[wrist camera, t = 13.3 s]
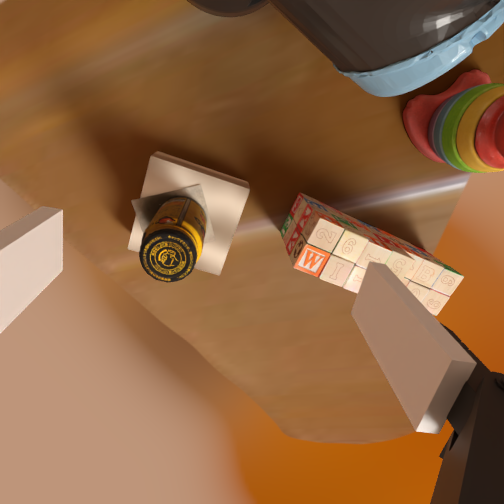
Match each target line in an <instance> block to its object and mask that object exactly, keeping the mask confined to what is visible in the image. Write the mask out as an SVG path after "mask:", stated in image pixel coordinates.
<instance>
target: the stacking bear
mask: <svg viewBox="0 0 504 504" xmlns="http://www.w3.org/2000/svg"><path fill="white" fill-rule="evenodd" d="M403 121H404V125H405V128H406V131H407V133H408V136H409V138H410V139H411V141H412V143H413V144H414V146H415V147H416V148H417V149H418V150H419V151H420V152H421V153H422V154H423V155H424V156H426V157H428V158H429V159H431V160H433V161H436V162H442V163H447V164H449V165H451V166H453V167H455V168H457V169H459V170H463V171H467V172H475V173H477V172H478V173H483V172H497V171H504V84H499V83H491V81H490V78H489V76H488V74H487V73H484V72H481V71H480V70H477V69H473V70H471V71H469V72H464V73H463V74H461V75H460V76H459V77H458V79H457V80H456V81H455V82H454V84H453V85H452V86H451V87H450V88H448V89H447V90H446V91H444V92H442V93H440V94H437V95H417V96H416V97H415V98H414V99H411V100H409V101H408V103H407V106H406V108H405V109H404V111H403Z"/></svg>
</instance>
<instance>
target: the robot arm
mask: <svg viewBox="0 0 504 504" xmlns="http://www.w3.org/2000/svg"><path fill="white" fill-rule="evenodd" d="M187 1H188V2H189V3H191V4H192V5H194V6H195V7H197V8H198V9H200V10H202V11H204V12H207V13H209V14H212V15H216V16H221V17H238V16H243V15H247V14H250V13H252V12H254V11H256V10H258V9H260V8H262V7H263V6H265V5H266V4H267V3H270V4H271V5H273V6H274V7H275V8H276V9H277V10H278V11H279V12H280V13H281V14H282V15H283V16H284V17H285V18H286V19H287V20H288V21H289V22H291V23H292V24H293V25H294V26H295V27H296V28H297V29H298V30H299V31H300V32H301V33H302V34H303V35H304V36H305V37H306V38H307V39H308V40H310V41H311V42H312V43H313V44H314V45H315V46H316V47H317V48H318V49H319V50H320V51H321V52H322V53H323V54H324V55H325V56H326V57H328V58H329V59H330V60H331V61H332V62H333V66H334V67H335V69H336V70H337V71H338V72H339V73H342V74H343V75H344V76H347V77H349V78H351V79H352V80H353V81H354V82H355V83H356V84H358V85H359V86H360V87H361V88H362V89H363V90H365V91H366V92H368V93H370V94H373V95H375V96H380V97H390V96H396V95H401V94H404V93H407V92H410V91H412V90H414V89H417V88H419V87H421V86H423V85H425V84H427V83H429V82H431V81H432V80H434V79H436V78H437V77H439V76H441V75H442V74H444V73H446V72H447V71H449V70H450V69H451V68H453V67H454V66H456V65H457V64H458V63H460V62H461V61H462V60H464V59H465V58H466V57H467V56H469V55H470V54H471V53H472V49H473V47H474V46H475V45H476V44H478V43H480V42H481V41H484V40H486V39H488V38H489V37H490V36H491V35H492V34H493V33H494V32H495V31H496V30H497V29H498V28H499V27H500V26H501V24H502V23H503V22H504V0H187ZM62 270H63V209H57V208H51V207H45V206H42V207H40V208H39V209H37V210H35V211H33V212H32V213H30V214H28V215H26V216H25V217H23V218H21V219H19V220H18V221H16V222H14V223H13V224H11V225H9V226H7V227H5V228H4V229H2V230H0V333H1V332H2V331H3V330H4V329H5V328H6V327H7V326H8V325H9V324H10V323H11V322H12V321H13V320H14V319H15V318H16V317H17V316H18V315H19V314H20V313H21V312H22V311H23V310H24V309H25V308H26V307H27V306H28V305H29V304H30V303H31V302H32V301H33V300H34V299H35V298H36V297H37V296H38V295H39V294H40V293H41V292H42V290H44V289H45V288H46V287H47V286H48V285H49V284H50V283H51V282H52V281H53V280H54V278H56V277H57V275H58V274H60V273H61V271H62ZM351 315H352V316H353V318H354V320H355V322H356V324H357V325H358V327H359V329H360V331H361V333H362V334H363V336H364V338H365V340H366V342H367V344H368V345H369V347H370V349H371V351H372V353H373V354H374V356H375V358H376V360H377V362H378V364H379V365H380V367H381V369H382V371H383V373H384V374H385V376H386V378H387V380H388V382H389V383H390V385H391V387H392V389H393V391H394V393H395V394H396V396H397V398H398V400H399V402H400V403H401V405H402V407H403V409H404V411H405V412H406V414H407V416H408V418H409V420H410V422H411V423H412V425H413V427H414V429H415V431H417V432H426V433H436V434H439V432H440V431H441V429H442V427H443V425H444V423H445V421H446V420H447V419H448V421H449V422H450V424H451V425H452V427H453V428H454V431H453V432H452V434H451V436H450V438H449V440H448V442H447V443H446V445H445V447H444V448H443V450H442V452H441V454H440V457H441V458H442V459H443V461H442V465H441V468H440V472H439V475H438V479H437V482H436V486H435V489H434V493H433V496H432V499H431V503H430V504H504V374H502V373H497V372H490V370H489V369H488V368H487V367H486V366H485V365H484V364H483V363H482V362H481V361H480V360H479V359H478V358H477V357H476V356H475V355H474V354H473V353H472V352H471V351H470V350H469V348H468V347H467V346H466V345H465V344H464V343H462V342H461V340H460V339H459V338H458V337H457V336H456V335H455V333H454V332H453V331H451V330H450V329H448V328H447V327H446V326H444V325H443V324H441V323H439V322H438V321H437V320H436V318H435V317H434V316H432V314H431V313H430V312H429V311H428V310H427V309H426V308H425V307H424V305H423V304H422V303H421V302H420V301H419V300H418V299H417V298H416V297H415V296H414V295H413V294H412V292H411V291H410V290H409V289H408V288H407V287H406V286H405V285H404V284H403V283H402V282H401V281H400V279H399V278H398V277H397V276H396V275H395V274H394V273H393V272H392V271H391V270H390V269H389V267H388V266H387V265H386V264H382V263H376V262H370V261H369V263H368V266H367V269H366V272H365V275H364V278H363V280H362V283H361V286H360V289H359V292H358V295H357V297H356V300H355V303H354V306H353V309H352V312H351Z"/></svg>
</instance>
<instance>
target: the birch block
mask: <svg viewBox="0 0 504 504" xmlns="http://www.w3.org/2000/svg"><path fill="white" fill-rule="evenodd" d="M197 185H201V187H202V190H203V194H204V198H205V201H206V205H207V209H208V213H209V216H210V220H211V224H212V228H213V232H214V236H215V240H216V241H215V242H209V243H205V244H203V249H202V253H201V256H200V258H199V260H198V261H197V263H196V264H195V266H194V268H195V269H199V270H202V271H206V272H209V273H212V274H216V275H219V276H220V273H221V270H222V267H223V264H224V262H225V259H226V256H227V253H228V250H229V247H230V245H231V242H232V239H233V236H234V233H235V231H236V228H237V225H238V222H239V219H240V216H241V214H242V211H243V208H244V205H245V202H246V200H247V197H248V194H249V191H250V187H249V183H248V182H247V181H244V180H241V179H238V178H235V177H232V176H230V175H227V174H224V173H221V172H218V171H215V170H212V169H209V168H206V167H203V166H200V165H197V164H195V163H192V162H189V161H186V160H183V159H180V158H177V157H174V156H171V155H168V154H165V153H163V152H160V151H157V152H155V153H154V154H152V155H151V157H150V161H149V165H148V169H147V173H146V177H145V181H144V185H143V189H142V193H141V197H140V198H144V197H147V196H152V195H157V194H162V193H165V192H170V191H174V190H179V189H184V188H188V187H193V186H197ZM142 236H143V232H142V230H141V227H140V223H139V221H138V218H137V215H136V217H135V221H134V225H133V229H132V233H131V237H130V241H129V245H128V249H129V250H133V251H136V252H139V251H140V246H141V242H142Z"/></svg>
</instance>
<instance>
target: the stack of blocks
mask: <svg viewBox="0 0 504 504" xmlns="http://www.w3.org/2000/svg"><path fill="white" fill-rule="evenodd" d="M280 233H281V236H282V239H283V240H284V243H285V245H286V249H287V252H288V255H289V257H290V259H291V262H292V264H293V267H294V268H296V269H298V270H301V271H303V272H306V273H308V274H311V275H313V276H316V277H319V278H320V279H322V280H324V281H327V282H330V283H332V284H335V285H338V286H341V287H343V288H344V289H347V290H350V291H352V292H355V293H358V292H359V289H360V286H361V283H362V280H363V278H364V275H365V272H366V269H367V266H368V263H369V261H370V262H376V263H382V264H386V265H387V266H388V267H389V269H390V270H391V271H392V272H393V273H394V274H395V275H396V276H397V277H398V278H399V279H400V281H401V282H402V283H403V284H404V285H405V286H406V287H407V288H408V289H409V290H410V291H411V292H412V294H413V295H414V296H415V297H416V298H417V299H418V300H419V301H420V302H421V303H422V304H423V305H424V307H425V308H426V309H427V310H428V311H429V312H430V313H431V314H433V315H435V316H436V315H437V314H438V313H439V312H440V310H441V309H442V307H443V306H444V305H445V303H446V302H447V300H448V299H449V298H450V295H451V294H452V293H453V292H454V290H455V289H456V287H457V286H458V284H459V283H460V282H461V280H462V279H463V277H464V276H462V275H461V274H460V273H459V272H457V271H456V270H454V269H453V268H451V267H450V266H447V265H446V264H444V263H443V262H442V261H440V260H439V259H437V258H435V257H434V256H433V255H432V254H430V253H428V252H427V251H425V250H423V249H421V248H419V247H416V246H414V245H412V244H410V243H409V242H407V241H405V240H402V239H400V238H398V237H396V236H393V235H391V234H389V233H387V232H385V231H383V230H381V229H378V228H376V227H373V226H371V225H369V224H366V223H364V222H362V221H360V220H358V219H355V218H353V217H351V216H349V215H346V214H344V213H342V212H340V211H338V210H337V209H335V208H333V207H330V206H328V205H326V204H324V203H322V202H320V201H318V200H316V199H314V198H312V197H309V196H307V195H305V194H303V193H299V194H298V196H297V198H296V200H295V202H294V204H293V206H292V208H291V210H290V213H289V215H288V217H287V219H286V221H285V223H284V225H283V227H282V229H281V230H280Z"/></svg>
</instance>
